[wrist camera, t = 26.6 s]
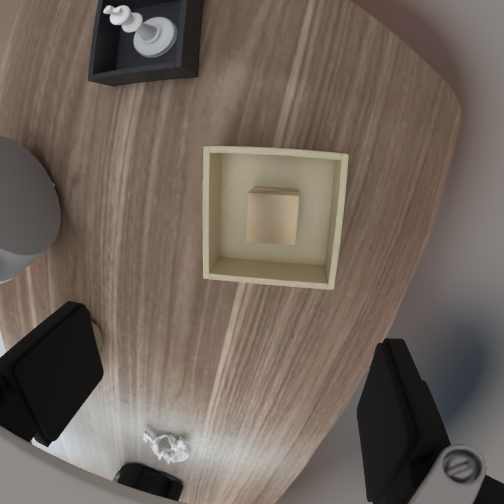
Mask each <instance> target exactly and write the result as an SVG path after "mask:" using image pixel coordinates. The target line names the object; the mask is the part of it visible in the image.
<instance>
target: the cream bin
mask: <svg viewBox="0 0 504 504" xmlns="http://www.w3.org/2000/svg"><path fill="white" fill-rule="evenodd" d="M348 157H349V154H345V153H337V152H327V151H316V150H304V149H290V148H273V147H251V146H204V148H203V278H204V279H213V280H223V281H234V282H244V283H255V284H267V285H278V286H290V287H303V288H315V289H329V290H334V285H335V278H336V271H337V264H338V257H339V249H340V241H341V233H342V224H343V215H344V205H345V194H346V183H347V171H348ZM254 186H262V187H278V188H292V189H299V195H300V197H299V212H298V225H297V237H296V245H282V244H269V243H256V242H246V225H247V197H248V192H249V191H250V190H251V189H252V188H253V187H254Z"/></svg>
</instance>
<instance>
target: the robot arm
mask: <svg viewBox="0 0 504 504" xmlns="http://www.w3.org/2000/svg"><path fill="white" fill-rule="evenodd" d="M103 373H104V371H103V366H102V363H101V359H100V355H99V351H98V347H97V343H96V339H95V335H94V331H93V326H92V322H91V317H90V313H89V311H88V309H86V306H85V305H84V304H82V303H77V302H72V301H68V302H67V303H65V304H64V305H63V306H62V307H60V308H59V309H58V310H57V311H55V312H54V313H53V314H52V315H50V316H49V317H48V318H47V319H45V320H44V321H43V322H42V323H41V324H39V325H38V326H37V327H36V328H34V329H33V330H32V331H31V332H30V333H28V334H27V335H26V336H25V337H24V338H23V339H21V340H20V341H19V342H18V343H17V344H15V345H14V346H13V347H12V348H11V349H10V350H9V351H7V352H6V353H5V354H4V355H3V356H2V357H1V358H0V504H187V503H183V502H179V501H175V500H171V499H167V498H163V497H160V496H156V495H153V494H149V493H146V492H143V491H140V490H136V489H133V488H130V487H127V486H124V485H122V484H119V483H116V482H113V481H111V480H108V479H105V478H103V477H100V476H98V475H95V474H93V473H90V472H88V471H86V470H83V469H81V468H79V467H76V466H74V465H72V464H70V463H68V462H66V461H63V460H61V459H59V458H57V457H55V456H53V455H51V454H49V453H47V452H45V451H43V450H41V449H40V448H37V447H36V446H34V445H32V442H31V440H32V438H33V437H34V438H35V440H36V441H37V442H39V443H41V444H42V445H44V446H46V447H48V446H49V445H50V444H51V442H52V441H55V440H57V438H58V437H59V436H60V434H61V433H62V432H63V430H64V429H65V427H66V426H67V425H68V423H69V422H70V421H71V419H72V418H73V417H74V415H75V414H76V413H77V411H78V410H79V409H80V407H81V406H82V404H83V403H84V402H85V400H86V399H87V398H88V397H89V395H90V394H91V393H92V391H93V390H94V389H95V387H96V386H97V385H98V383H99V382H100V381H101V379H102V377H103ZM357 420H358V427H359V434H360V442H361V449H362V458H363V466H364V475H365V484H366V495H367V500H368V502H373V504H504V484H503V483H501V482H499V481H497V480H495V479H493V478H491V477H489V476H487V475H485V474H486V469H487V467H486V461H485V459H484V457H483V455H482V454H481V453H480V452H479V451H478V450H477V449H475V448H474V447H472V446H469V445H466V444H454V445H451V444H450V441H449V438H448V435H447V433H446V430H445V428H444V425H443V422H442V419H441V417H440V414H439V412H438V409H437V407H436V404H435V402H434V399H433V397H432V395H431V392H430V390H429V387H428V385H427V384H426V382H425V381H423V380H421V377H420V375H419V373H418V370H417V368H416V366H415V363H414V361H413V359H412V357H411V354H410V352H409V350H408V348H407V346H406V343H405V341H404V340H403V339H388V338H386V339H384V341H383V343H378V344H377V347H376V350H375V353H374V357H373V360H372V364H371V367H370V370H369V374H368V376H367V380H366V383H365V386H364V389H363V392H362V395H361V398H360V401H359V404H358V407H357Z"/></svg>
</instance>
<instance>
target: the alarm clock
mask: <svg viewBox="0 0 504 504" xmlns="http://www.w3.org/2000/svg"><path fill="white" fill-rule="evenodd" d="M54 186H55V184H54V183H52V181H51V179H50V177H49V175H48V174H47V172H46V170H45V169H44V167H43V166H42V165H41V164H40V162H39V161H38V160H37V158H36V157H35V156H33V155H32V154H31V153H30V152H29V151H28V150H27V149H26V148H25V147H23V146H22V145H20V144H19V143H17V142H16V141H13V140H11V139H8V138H6V137H1V136H0V284H1V283H4V282H6V281H9V280H12V279H13V278H14V277H16V276H17V275H18V274H19V273H20V272H21V271H23V270H24V269H25V268H26V267H27V266H28V265H29V264H31V263H32V262H33V261H34V260H35V259H37V258H38V257H39V256H40V255H41V254H42V253H44V252H45V251H46V250H47V249H49V248H50V247H51V246H52V244H53V243H54V241H55V239H56V238H57V236H58V232H59V228H60V224H61V213H60V205H59V200H58V196H57V193H56V191H55V188H54Z"/></svg>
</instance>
